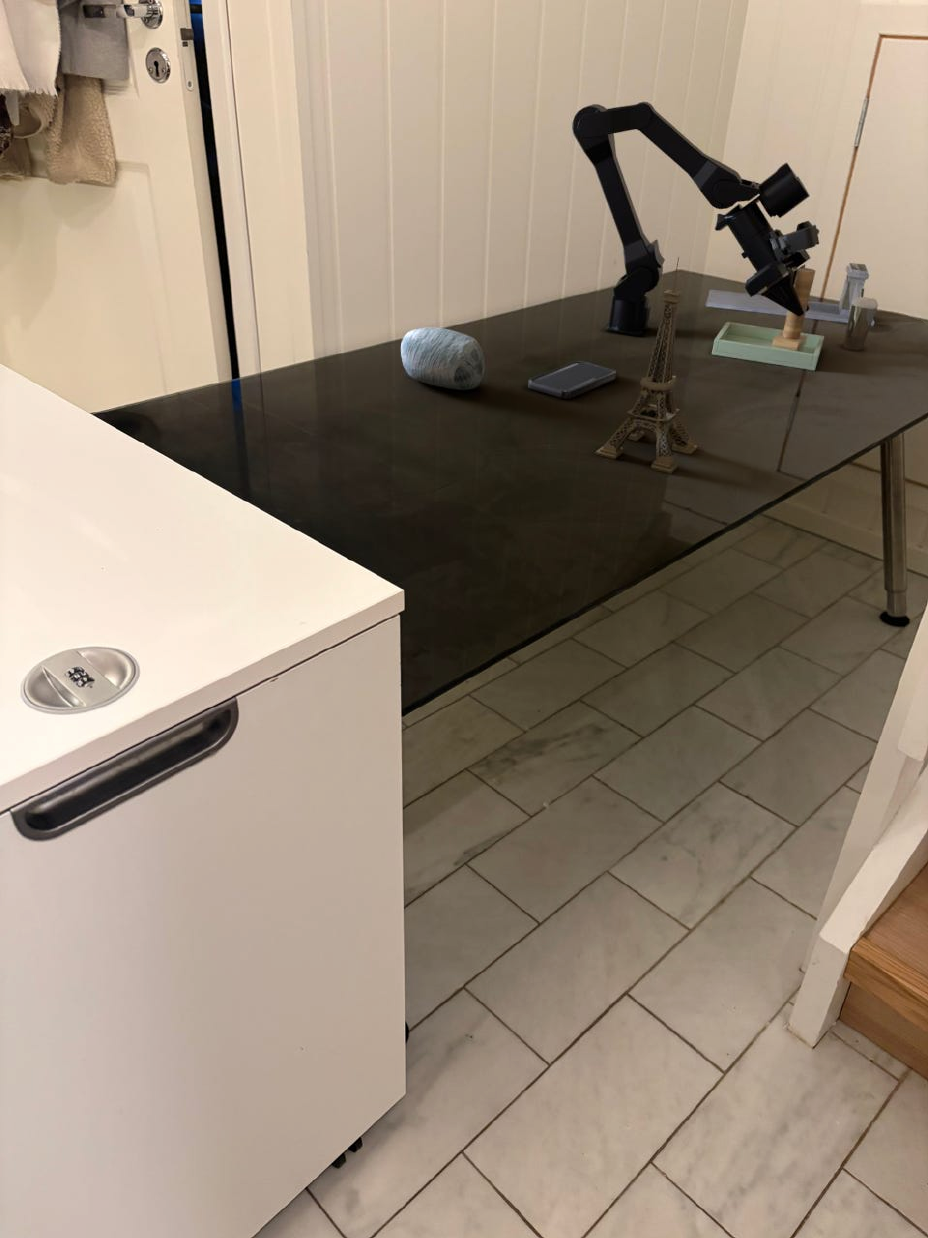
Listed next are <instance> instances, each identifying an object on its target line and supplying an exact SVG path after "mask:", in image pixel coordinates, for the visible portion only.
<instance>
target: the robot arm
mask: <svg viewBox="0 0 928 1238" xmlns="http://www.w3.org/2000/svg"><path fill="white" fill-rule="evenodd" d="M571 129H572V135H573V136H574V138H575V140H576V141H577V143H578V145H579V147H580V148H581V150H582V152H583V153H584V155H585V157H586V158H587V159H588V160H589V162H590V163H591V165H592V166H593V167H594V170H595V173H596V175H597V178H598V181H599V184H600V186H601V189H602V192H603V194H604V198H605V200H606V203H607V205H608V209H609V212H610V214H611V217H612V220H613V223H614V225H615V228H616V231H617V234H618V236H619V239H620V242H621V244H622V253H623V263H624V264H623V265H624V269H625V274H623V275H622V276H621V277H620V278H619V279H618V281H617V282H616V284H615V285H614V287H613V294H612V296H611V303H610V312H609V319H608V325H607V326H606V327H605V332H610V333H616V334H621V335H622V334H623V335H629V336H634V337H635V336H636V337H639V336H641V335H642V334H643V333H644V332H645V331H646V330H647V329H648V327H649V322H650V321H649V320H650V314H651V308H652V307H651V305H649V302H650V301H649V300H650V296H648V295H647V296H646V294H647V293H649V292H651V291H653V290H654V289H655V288H656V287H657V286H658V283H659V282H660V279H661V277H662V275H663V272H664V266H663V265H664V263H665V261H666V258H665V257H663V256H662V253H661V251H660V250H661V249H660V245H659V241H658V239H654V240H653V241H651V242H650V240H649V239H648V238H647V236H646V235H645V233H644V230H643V228H642V225H641V222H640V220H639V216H638V214H637V210H636V207H635V205H634V202H633V200H632V197H631V194H630V191H629V188H628V185H627V183H626V180H625V177H624V174H623V172H622V168H621V165H620V163H619V160H618V157H617V152H616V151H617V149H616V140H615V134H619V133H623V132H629V131H636V130H637V131H639V132H640V133H641V134H642V135H643V136H645V137H646V139H648V140H649V141H650V142H651V143H653V145H654V146H656V147H657V148H658V149H659V150H660V151H662V153H664V154H665V155H666V156H667V157H668V158H669V159H670V160H672V162H674V163H675V164H676V165H677V166H678V167H680V168H681V169H682V170H683V171H684V172H685V173H686V174H688V176H689V177H690V179H691V180H692V181H693V183H694V185H695V186H696V187H697V189H698V190H699V192H700V193H701V194H702V195H703V197H704V198H705V199H706V201H707V202H708V203H709V204H710V205H711V206H712V207H713V208H715V209H717V210H725V209H730V208H731V207H733V206H734V207H733V208H732V209H730V210H729V211H727V212H726V213H724V214H723V213H717V214H716V223H715V227H714V230H715V231H716V232H717V231H718V232H721V231H722V230H724V229H725V228H726V227H728V229H729V230H730V232H731V234H732V236H734V238H735V241H737V243H738V245H739V246H740V248H741V250H742V251H743V252H742V253H740V256H741V257H742V258H743V260H746V259H748V261H750V264H751V265H752V267H753V268H754V270H755V273H753V275H752V276H750V277H749V278H748V279H747V280H746V281H745V286H744V289H745V290H746V292H747V294H749V295H750V297H752V296H754V295H758V294H759V292H760V291H762V290H763V289H765V288H766V289H765V290H764V291H763V292H761V293H760V294H759V295H761V296H764V297H766V298H768V299H770V300H772V301H773V302H775V303H777V304H779V305H780V306H782V307H784V308H785V309H787V310H788V311H790V312H792V313H793V314H795V315H797V316H798V317H800V316H801V315H803V314H804V310H803V307H802V305H801V302H800V300H799V298H798V296H797V293H796V291H795V289H794V287H793V286H794V281H795V277H796V272H797V269H798V268H806V264H805V263H806V262H808V261H809V260H811V256H810V254H809V253H808V251H807V250H808V249H813V248H814V247H816V246H817V245H820V240H819V239H820V238H819V234H820V229H818V228H817V225H816V224H812V223H811V222H810V220H806V221H803V222H800V223H798V224H796V225H797V226H796V230H794V231H791V232H789V233H786V234H783V232H782V231H781V230H780V229H778V228H776V229H774V228H773V227H772V225H771V224H770V222H769V220H768V219H767V217H766V215H765V214H764V213H763V211H762V210H761V208H760V206H759V204H758V203H759V202H760V204H761V206H762V208H763V209H764V210H765V212H766V213H767V215H768V216H769V218H773V217H774V218H775V217H776V216H777V217H778V218H779V219H781V218H783V217H784V216H785V215H787V214H788V213H790V212H791V211H793V209H795V208H796V207H797V206H799V205H801V203H803V202H804V201H805V200H807V199H808V198H809V197H811V195H810V193H809V191H808V189H807V188H806V187H805V185H804V183H803V182H802V180H801V178H800V177H799V175H796V173H795V172H794V170H793V169H792V168H791V166H790V165H789V163H788V162H785V163H783V164H782V165H780V167H778V168H777V170H776V171H775V172H774V173H772V174H770V176H768V177H767V178H766V179H764V180H763V181H762V182H760V183H759V182H757V181H755V180H753V181H752V180H748V179H745V178H742V176H741V175H740V174H739V172H738V171H736V170H735V169H733V168H731V167H730V166H728V165H726V164H725V163H723V162H721V161H720V160H717V159H715V158H714V157H711V156H709V155H708V154H706V153H704V152H703V151H702V150H701V149H700V148H699V147H698V146H697V145H695V144H694V143H693V142H692V141H691V140H689V138H687V137H686V136H685V135H684V134H683V133H682V132H681V131H679V130H678V129H677V128H676V127H675V126H674V125H673V124H671V123H670V122H669V120H667V119H666V118H664V116H663V115H661V114H660V113H659V112H658V111H657V110H656V109H655V108H654V106H653V105H652V103H649V102H648V101H642V102H638V103H636V104H630V105H622V106H616V107H610V108H609V107H608V108H607V107H605V106H603V105H601V104H599V103H596V104H595V103H593V104H590V105H586V106H584V107H582V108H581V109H579V110H578V111H577V112H576V114H575V115H574V117H573V120H572V123H571ZM740 202H748V203H746V205H744V206H743V205H742V204H741V203H740ZM736 203H738V204H737V205H736V206H735V204H736ZM809 309H810V308H809V305H807V309H806V312H807V311H808V310H809Z"/></svg>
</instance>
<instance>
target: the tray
mask: <svg viewBox="0 0 928 1238" xmlns="http://www.w3.org/2000/svg"><path fill="white" fill-rule="evenodd" d="M783 330H784V329H779V328H773V327H767V326H766V327H765V326H760V325H752V324H745V323H739V322H731V321H726V322H725V324H724V325H723V326H722V328H721V329H720V331H719V332H718V334H717V335H716V337H715V338H714V341H713V345H712V351H711V355H712V356H713V355H714V356H721V357H726V358H733V359H738V360H746V361H752V362H757V363H764V364H771V365H777V366H783V367H790V368H795V369H802V370H808V371H815V370H816V367H817V364H818V361H819V357H820V354H821V351H822V347H823V344H824V340H825V336H824V335H820V334H813V333H806V332H801V335H807V336H808V337H807V341H806V344H804V348H803V350H802V351H801V352H799V351H792V350H786V349H779V348H773V346H772V343H773V339H774V338H775V337H776V336H777V335H779V334H780V333H782V332H783Z"/></svg>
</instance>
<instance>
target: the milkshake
mask: <svg viewBox="0 0 928 1238" xmlns="http://www.w3.org/2000/svg"><path fill="white" fill-rule="evenodd" d="M864 295H865V288H863V289H862V291H861V297H859V298H855V299H854V300H852V302H851V308H850V314H849V320H848V323H847V326H846V331H845V336H844V341H843V348H844V349H845V350H849V351H856V352H857V351H862V350H863V348H864V345H865V342H866V341H867V340H866V339H867V337H868V334H869V331H870V329H871V326H870V325H871V323H872V320H873V319H874V317H875V315H876V312H877V309H878V307H879V303H878V301H877V299H876V298H875V297H874V298H873V297H872V298H871V297H865V296H864Z"/></svg>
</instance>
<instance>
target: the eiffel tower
mask: <svg viewBox="0 0 928 1238" xmlns="http://www.w3.org/2000/svg"><path fill="white" fill-rule="evenodd" d="M679 260H680V256H677V263H676V268H675V273H674V277H673V282H672V286H671V289H667V290H666V291H663V296H662V297H661V298H660V301H661V302H663V303H664V306H663V311H662V314H661V319H660V323H659V326H658V330H657V334H656V338H655V342H654V346H653V349H652V353H651V354H652V355H651V357H650V360H649V364H648V369H647V372H646V376H645V377H642V378H641V380H640V382H639V385H641V390H640V392H639V395H638V397H637V399H636V402H635V404H634V405H633V407H632V409H630V410H629V411H628V410H627V416H628V417H627V418H626V419H625V420H624V421H623V423H621V425H620V426H619V427H618V428H617V430H615V432H614V433H613V434H612V435H611V436H610V437H609V439H608V440H607V441H606V442H605V444H604V445H602V446H601V447H600V448H599V449H597V450H596V451H595V453H594V454H595V455H597V456H601V457H605V458H609V459H611V460H615V459H617V458H618V457H619V456H621V454H623V452H624V448H623V447H622V446H623V445H624V444H625V442H627V440H631V441H635V442H637V441H638V440H640V439H641V438H643V436H645V432H644V431H643V430H645V431H648V432H650V433H651V434H652V435H654V436H655V439H656V440H655V442H656V443H655V460H654V461H653V462H652V464H651V466H650V469H651V470H655V471H659V472H663V473H667V474H671V475H672V474H673V472H674V471H676V469H678V468H679V463H676V460H675V456H674V453H673V451H675V452H679V453H683V454H687V455H692V454H693V453H694V452H696V450H698V447H699V445H696V444H695V443H693V441H692V438H691V436H690V434H689V433H688V431H687V429H686V427H685V425H684V424H683V423H682V421H681V419H680V417H679V416H678V413H679V411H680V408H677V407H676V403H675V398H674V386H675V385H676V384H677V381H678V380H677V376H676V375H673V369H674V353H675V340H676V339H675V338H676V323H677V310H678V309H677V307H678V304H679V303H680V302H682V301H683V300H684V298H683V297H682V295H681V294H683V291H679V290H676V285H677V276H678V267H679V266H678V265H679ZM654 396H656V404H651V402H652V401H653V398H654ZM667 433H669V436H670V437H671V439H672V441H673V444H672V445H671V446H670V443H669V441H668V439H667Z"/></svg>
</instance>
